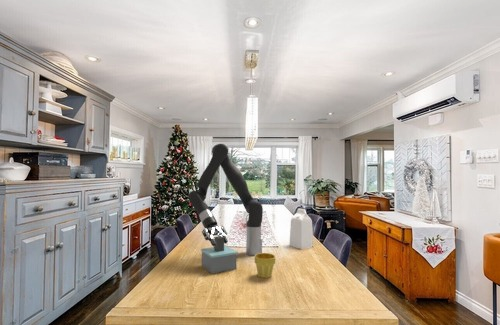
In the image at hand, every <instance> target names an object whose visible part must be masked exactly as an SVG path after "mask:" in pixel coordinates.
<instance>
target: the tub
mask: <svg viewBox="0 0 500 325" xmlns="http://www.w3.org/2000/svg"><path fill="white" fill-rule="evenodd" d="M237 255H238V254H234V255H228V256H221V257H215V258H211V257H209V256H208V255H206V254H205V253H203V252H202V251H201V266H202V267H203V268H204V269H205V270H207V271H208V272H209V273H211V274H213V275H214V274H218V273H223V272H228V271H235V270H237V261H238V260H237Z"/></svg>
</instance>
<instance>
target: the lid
mask: <svg viewBox="0 0 500 325" xmlns="http://www.w3.org/2000/svg"><path fill="white" fill-rule="evenodd" d="M222 236H223V235H222ZM222 236H218V235H217V236H213V237H214V238H213V239H214V241H215V243H216V245H215V246H211V247H205V248H201V249H200V252H201V253H202V252H203V253H205V254H206V255H208V256H209V257H211V258H215V257H221V256H228V255H234V254H237V255H238V254H239V252H238V251H237V250H235V249H233V248H231V247H230V246H228V245H226V244H225V243H224V237H222Z"/></svg>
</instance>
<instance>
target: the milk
mask: <svg viewBox="0 0 500 325" xmlns="http://www.w3.org/2000/svg"><path fill="white" fill-rule="evenodd" d="M289 230H290V231H289V232H290V233H289V246H291V247H293V248H296V249H299V248H300V249H299V250H305V249H304V248H306V249H309V248H308V247H311V248H313V247H314V232H313V230H314V229H313V220H312V218H311V217H310V216H309V215H308V214H307V211H306V209H304V208H297V211H296V213H294V215H293V216H292V217H291V219H290V229H289ZM312 246H313V247H312Z"/></svg>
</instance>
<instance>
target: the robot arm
mask: <svg viewBox="0 0 500 325" xmlns="http://www.w3.org/2000/svg"><path fill="white" fill-rule="evenodd" d="M211 153H212V156H211V159H210V161H209V163H208V165H207V166H206V168H205V169H204V171H203V172H202V174H201V175H200V178H199V179H198V181H197V184H196V186H197V188H198V190H197V191H196V190H192V191H190V192H189V193H188V195H187V196H188V198H187V199H188V202H189V203H190V204H191V206H192V207H193V208H194V210H195V211H196V212H197V215H198V217H199V220H200V222H201V224H202V226H203V229H202V230H201V233H202V235H203V237H204V239H205V241H209V242H210V245H211V247H214V246H215V245H216V243H215V241H214V238H213V237H215V236H217V237H218V236H222V237H224V245H226V244H228V242H229V240H228V238H227V235H228V232H227V230H226V228H225V226H224V225H221V226H219V225H218V222H217V220H216V217H215V215H214V214H213V212H212V210H211V209H210V207H209V206H208V204H207V203H206V202H205V201H206V198H207V193H208V191H209V190H208V189H209V187H210V185H211V183H212V181H213V179H214V177H215V175H216V173H217V171H218V170H219V168H220V167H221V170H222V171H223V173H224V175H225V176H226V179H227V180H228V183H229V184H230V185H231V187H232V188H233V190H234V191H235V193H236V195H237V196H238V198H239V199H240V201H241V202H242V205H243V208H244V209H245V211H246V213H247V214H248V220H247V221H246V234H245V235H246V236H245V237H246V239H245V240H246V243H245V244H246V246H245V251H246V255H247V256H248V255H249V256H255V255H256V254H258V253H263V238H262V222H263V214H264V213H263V211H264V210H263V209H264V208H263V205H262V203H261V202H260V201H257V200H256V199H254V197H253V195H252V194H251V193H250V190H249V187H248V184H247V181H246V179H245V177H244V175H243V174H242V172H241V170H240V169H239V168H238V167H237V166H236V165H235V164H234V162H232V160H231V158H230V157H229V148H228V146H227V145H226V144H224V143H216V144H215V145H214V146H213V147H212V149H211Z"/></svg>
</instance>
